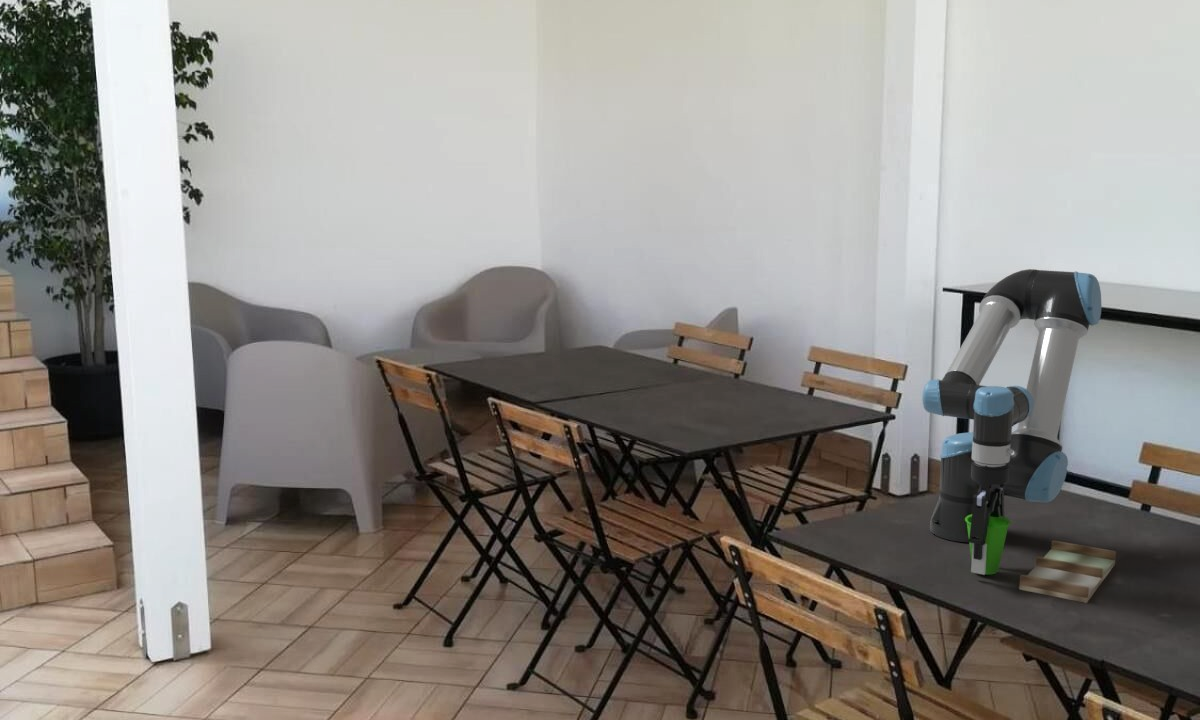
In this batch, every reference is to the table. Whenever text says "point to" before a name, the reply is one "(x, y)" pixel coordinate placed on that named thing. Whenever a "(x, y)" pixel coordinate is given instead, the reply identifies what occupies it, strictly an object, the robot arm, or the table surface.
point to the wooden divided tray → (1069, 571)
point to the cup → (992, 541)
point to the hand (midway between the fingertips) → (985, 565)
